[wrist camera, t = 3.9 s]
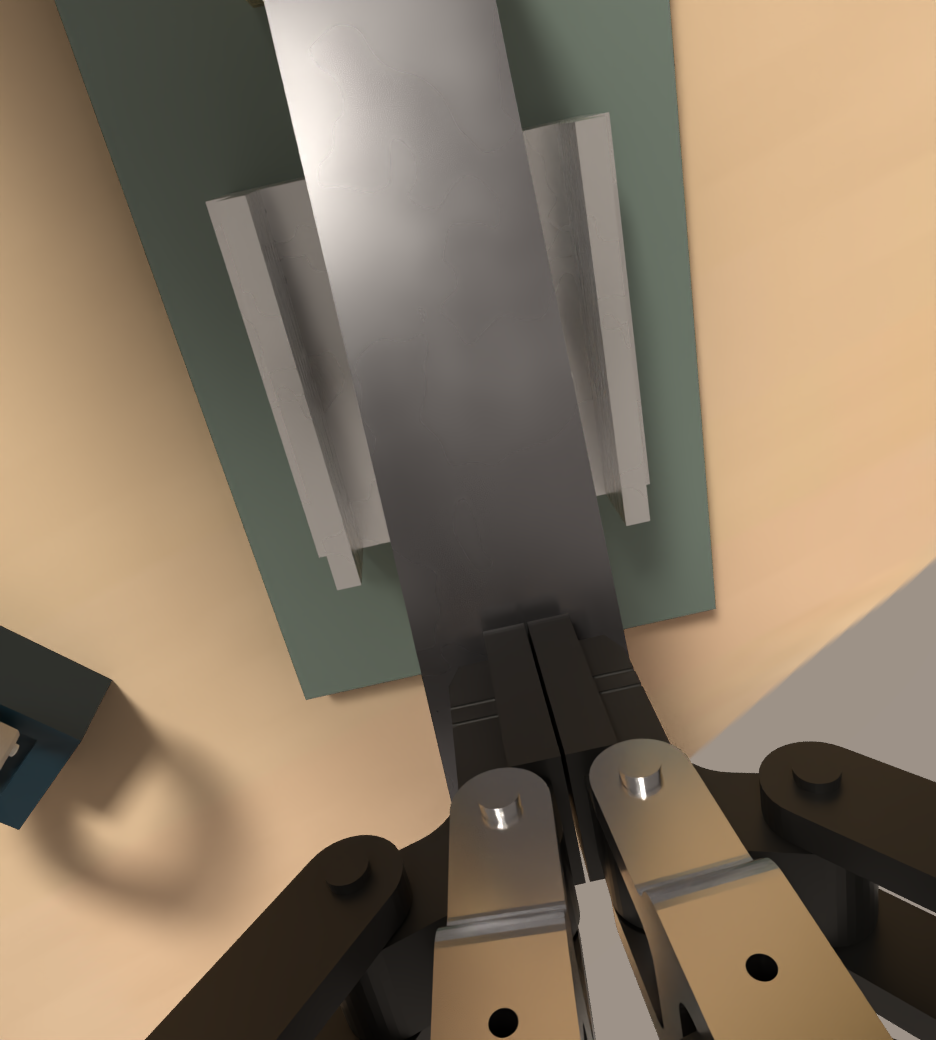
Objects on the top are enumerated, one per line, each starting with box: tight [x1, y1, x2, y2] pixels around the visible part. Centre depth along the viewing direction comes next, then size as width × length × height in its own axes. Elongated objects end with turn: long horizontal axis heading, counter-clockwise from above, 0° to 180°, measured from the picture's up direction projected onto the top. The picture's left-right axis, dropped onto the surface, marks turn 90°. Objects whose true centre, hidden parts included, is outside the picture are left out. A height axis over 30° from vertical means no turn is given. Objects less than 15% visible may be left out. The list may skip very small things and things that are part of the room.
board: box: [55, 0, 716, 700], centre depth 23 cm, size 22×14×2 cm, turn 11°
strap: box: [264, 0, 629, 803], centre depth 14 cm, size 17×4×2 cm, turn 11°
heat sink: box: [206, 112, 650, 590], centre depth 20 cm, size 9×9×5 cm
